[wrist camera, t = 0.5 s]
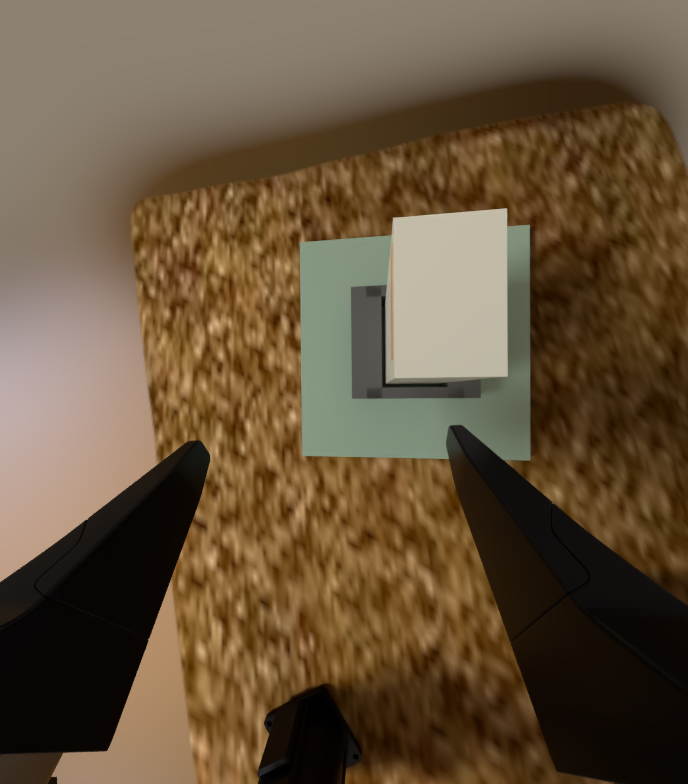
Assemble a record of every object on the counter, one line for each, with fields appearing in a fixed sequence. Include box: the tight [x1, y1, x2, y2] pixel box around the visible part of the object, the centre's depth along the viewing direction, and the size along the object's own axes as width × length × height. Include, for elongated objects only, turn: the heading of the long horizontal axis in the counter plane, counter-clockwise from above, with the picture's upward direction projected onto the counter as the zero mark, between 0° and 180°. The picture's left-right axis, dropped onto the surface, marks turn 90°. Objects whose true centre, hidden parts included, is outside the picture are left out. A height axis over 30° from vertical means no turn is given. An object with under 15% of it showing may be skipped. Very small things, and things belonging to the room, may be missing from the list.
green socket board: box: [300, 225, 530, 460], centre depth 21 cm, size 18×18×3 cm
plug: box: [385, 208, 508, 384], centre depth 16 cm, size 6×4×12 cm
